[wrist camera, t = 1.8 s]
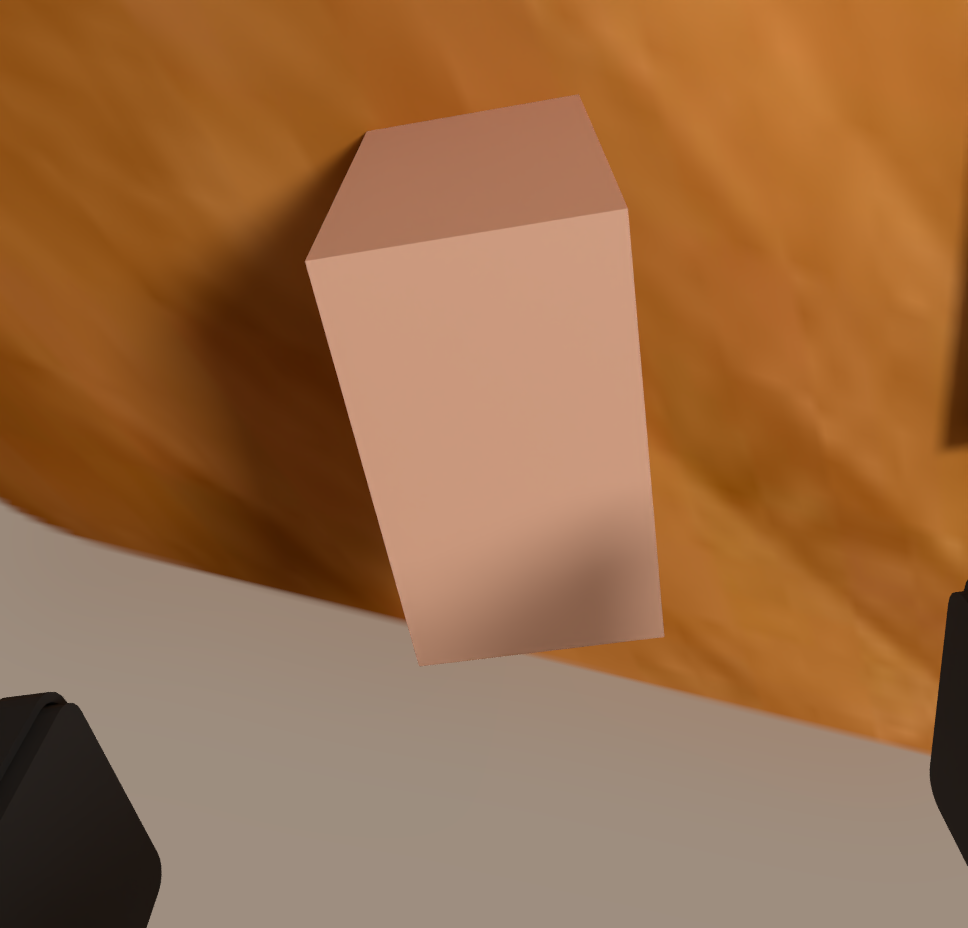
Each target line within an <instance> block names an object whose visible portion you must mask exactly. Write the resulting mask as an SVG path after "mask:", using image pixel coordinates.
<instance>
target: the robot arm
mask: <svg viewBox="0 0 968 928" xmlns="http://www.w3.org/2000/svg"><path fill="white" fill-rule="evenodd" d="M930 782H931V787H932V792H933V795H934V798H935V801H936V804H937V806H938V808H939V810H940V812H941V814H942V816H943V818H944V820H945V822H946V824H947V826H948V828H949V830H950V832H951V834H952V836H953V838H954V840H955V842H956V844H957V846H958V848H959V850H960V852H961V854H962V856H963V858H964V860H965V861H966V864H967V866H968V580H967V582H966V585H965V589H964V591H962V592H955V593H952V595H951V596H950V598H949V603H948V611H947V620H946V629H945V637H944V646H943V655H942V664H941V673H940V682H939V691H938V700H937V709H936V718H935V727H934V736H933V744H932V753H931V762H930ZM160 883H161V862H160V858H159V856H158V853H157V851H156V849H155V847H154V845H153V844H152V842H151V840H150V838H149V836H148V834H147V832H146V831H145V828H144V827H143V825H142V823H141V821H140V819H139V818H138V816H137V814H136V812H135V810H134V808H133V806H132V804H131V802H130V801H129V799H128V797H127V795H126V793H125V791H124V789H123V787H122V786H121V784H120V782H119V780H118V778H117V776H116V774H115V773H114V771H113V769H112V767H111V765H110V763H109V761H108V760H107V758H106V756H105V754H104V752H103V750H102V748H101V746H100V745H99V743H98V741H97V739H96V737H95V735H94V733H93V732H92V730H91V728H90V726H89V724H88V722H87V720H86V719H85V717H84V715H83V713H82V711H81V710H80V708H79V707H78V706H77V705H75V704H74V703H67V702H66V701H65V699H64V698H63V697H62V696H61V695H59V694H58V693H56V692H46V693H39V694H31V695H22V696H14V697H6V698H2V699H0V928H146V927H147V924H148V922H149V919H150V916H151V913H152V910H153V907H154V904H155V901H156V898H157V895H158V892H159V888H160Z"/></svg>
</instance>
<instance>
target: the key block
mask: <svg viewBox="0 0 968 928" xmlns="http://www.w3.org/2000/svg"><path fill="white" fill-rule="evenodd" d="M305 263H306V266H307V270H308V273H309V277H310V281H311V284H312V288H313V291H314V295H315V298H316V302H317V305H318V309H319V312H320V316H321V320H322V323H323V327H324V330H325V334H326V337H327V341H328V344H329V348H330V351H331V355H332V359H333V362H334V366H335V369H336V373H337V376H338V380H339V383H340V387H341V391H342V394H343V398H344V401H345V405H346V408H347V412H348V415H349V419H350V422H351V426H352V430H353V433H354V437H355V440H356V444H357V447H358V451H359V454H360V458H361V462H362V465H363V469H364V472H365V476H366V479H367V483H368V486H369V490H370V493H371V497H372V501H373V504H374V508H375V511H376V515H377V518H378V522H379V525H380V529H381V533H382V536H383V540H384V543H385V547H386V550H387V554H388V557H389V561H390V564H391V568H392V572H393V575H394V579H395V582H396V586H397V589H398V593H399V596H400V600H401V604H402V607H403V611H404V614H405V618H406V621H407V625H408V628H409V631H410V635H411V639H412V643H413V646H414V650H415V653H416V657H417V660H418V664H419V666H427V665H435V664H443V663H452V662H460V661H468V660H476V659H485V658H493V657H501V656H509V655H518V654H526V653H534V652H543V651H551V650H559V649H567V648H576V647H584V646H592V645H600V644H609V643H617V642H625V641H633V640H642V639H650V638H658V637H664V629H663V618H662V606H661V594H660V582H659V570H658V559H657V547H656V535H655V523H654V512H653V500H652V488H651V476H650V465H649V453H648V441H647V429H646V418H645V406H644V394H643V382H642V371H641V359H640V347H639V335H638V324H637V312H636V300H635V288H634V277H633V265H632V253H631V241H630V230H629V218H628V208H627V206H626V203H625V201H624V199H623V196H622V194H621V192H620V189H619V187H618V185H617V182H616V180H615V178H614V175H613V173H612V171H611V168H610V166H609V164H608V161H607V159H606V157H605V154H604V152H603V150H602V147H601V145H600V143H599V140H598V138H597V136H596V133H595V131H594V129H593V126H592V124H591V122H590V119H589V117H588V115H587V112H586V110H585V108H584V105H583V103H582V101H581V98H580V96H579V94H578V95H573V96H567V97H561V98H556V99H550V100H544V101H538V102H533V103H527V104H521V105H516V106H510V107H504V108H499V109H493V110H487V111H481V112H476V113H470V114H464V115H459V116H453V117H447V118H442V119H436V120H430V121H424V122H419V123H413V124H407V125H402V126H396V127H390V128H385V129H379V130H373V131H367V132H366V134H365V136H364V138H363V140H362V142H361V145H360V147H359V149H358V151H357V153H356V155H355V157H354V159H353V161H352V163H351V166H350V168H349V170H348V172H347V174H346V176H345V178H344V180H343V182H342V184H341V187H340V189H339V191H338V193H337V195H336V197H335V199H334V201H333V203H332V205H331V208H330V210H329V212H328V214H327V216H326V218H325V220H324V222H323V224H322V226H321V229H320V231H319V233H318V235H317V237H316V239H315V241H314V243H313V245H312V247H311V250H310V252H309V254H308V256H307V258H306V260H305Z"/></svg>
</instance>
